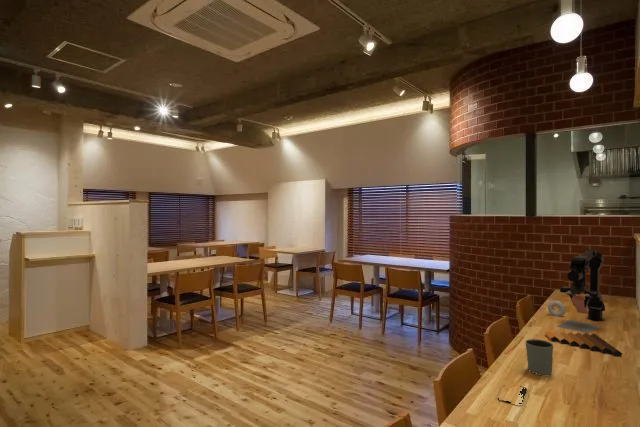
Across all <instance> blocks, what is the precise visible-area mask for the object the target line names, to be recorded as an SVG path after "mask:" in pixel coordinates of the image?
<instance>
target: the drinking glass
mask: <svg viewBox="0 0 640 427" xmlns="http://www.w3.org/2000/svg"><path fill="white" fill-rule="evenodd" d="M525 349H526V359H527V368H528V369H529V370H530V371H531V372H534V373H537V374H540V375H539V376H541V375H549V376H551V375H552V373H553V359H554V358H553V354H554V344H553V343H552V342H551V341H547V340H542V339H536V338H535V339H534V338H533V339H527V340H525ZM528 369H527V370H528ZM529 370H528V371H529ZM530 371H529V372H530ZM531 372H530V373H531Z"/></svg>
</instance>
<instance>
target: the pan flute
mask: <svg viewBox="0 0 640 427" xmlns="http://www.w3.org/2000/svg"><path fill="white" fill-rule="evenodd" d="M544 334H545V336H546V337H547V339H548V340H549V341H550V342H551V343H552V342H554V343H558V342H559V343H560V344H561V345H569V346H571V347H577V348H578V347H579V348H580V349H585V350H588V349H589V350H590V351H592V352H601V353H602V354H603V355H604V354H606V355H609V354H611V355H613V357H622V355H623V353H622V351H619V350H618V349H617V348H616V347H614V346H612V345H611V344H610V343H609V342H608V341H606V340H605V339H603V338H602V337H600V336H599V335H597V334H596V333H592V334H590V333H585V332H584V333H582V334H581V333H580V331H577V333H573V332H572V331H569V332H568V333H567V332H565V331H562V332H558V331H557V330H554V331H553V332H552V331H550V330H546V331H545V332H544Z"/></svg>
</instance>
